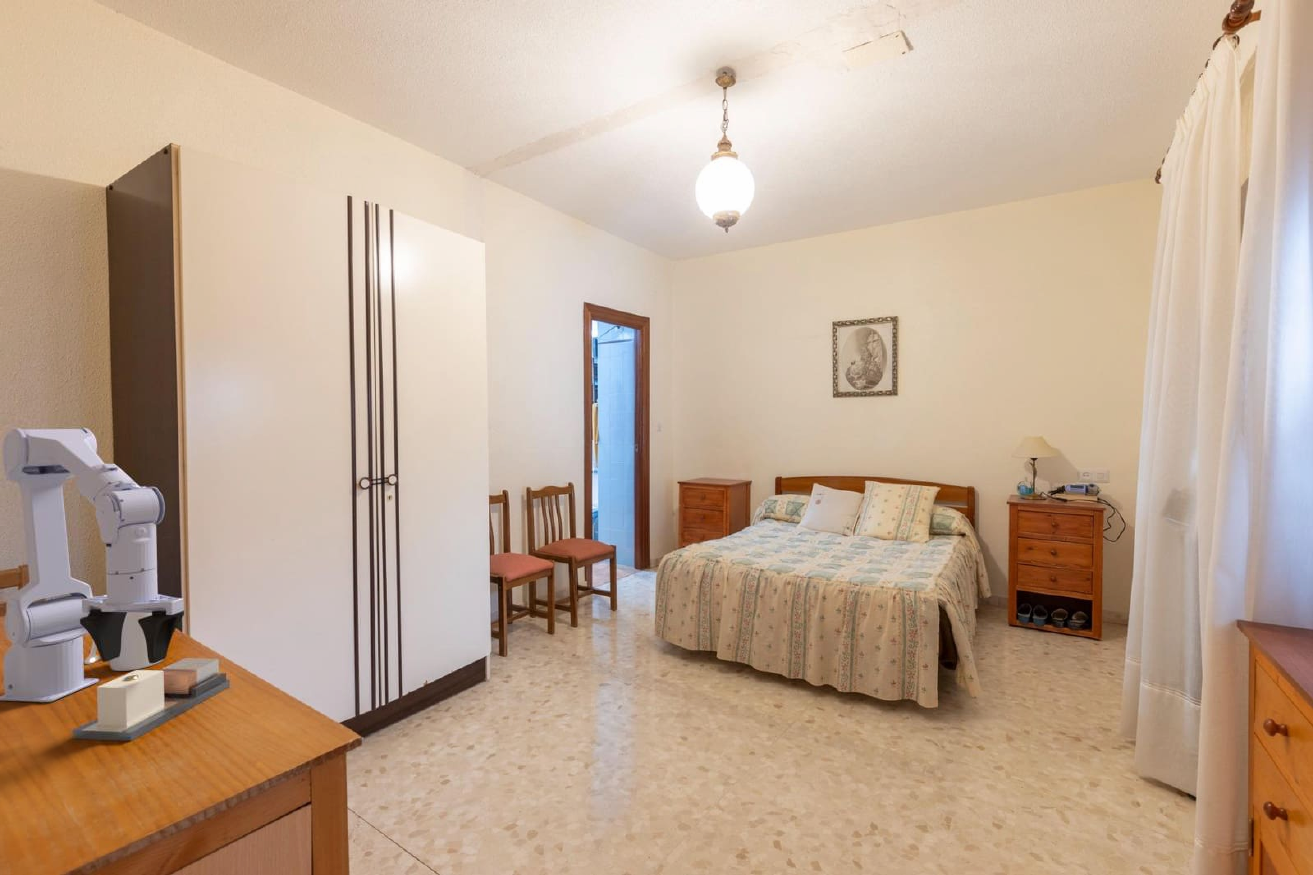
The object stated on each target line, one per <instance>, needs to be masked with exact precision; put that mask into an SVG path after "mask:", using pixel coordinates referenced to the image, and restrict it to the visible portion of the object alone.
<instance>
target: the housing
mask: <svg viewBox="0 0 1313 875" xmlns="http://www.w3.org/2000/svg"><path fill="white" fill-rule="evenodd" d="M96 698H97V700H96V701H97V702H96V705H97V718H98V725H116V726H128V725H130V724H131V723H133V722H135V721H137V720H139V719H141V718H143V717H145V716H147V715H149V714H150V713H152V712H154V711H156V710H158V709H160V708H162V707H164V671H161V670H147V669H136V670H132V671H131V672H128V673H126V674H124V675H121V676H119V677H117V678H115V679H112V680H111V681H108V682H106V683H103V684H101V685H99V686H97V687H96Z"/></svg>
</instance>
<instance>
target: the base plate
mask: <svg viewBox="0 0 1313 875" xmlns="http://www.w3.org/2000/svg"><path fill="white" fill-rule="evenodd" d="M230 684H231V680H230V679H227V672H221V673H219V675H217V676H215V677H213V678H211V679H209V680H207V681H205V682H203V683H201V684H200V685H198V686H196V687H194V688H192V689H191V693H189V694H176V693H164V707H162V708H160V709H158V710H156V711H154V712H152V713H150V714H149V715H147V716H145V717H143V718H141V719H139V720H137V721H135V722H133V723H131V724H130V725H128V726H116V725H98V717H97V718H95V719H93V720H91V721H89V722H87V723H85V724H83V725H80V726H78V727H76V728H74V729H72V739H76V740H97V741H100V740H101V741H116V742H117V741H118V742H119V741H120V742H121V741H122V742H132V741H134V740H136V739H138V738H139V737H142V736H143V735H145V734H147V733H148V732H150V731H152V730H154V729H156V728H157V727H159V726H161V725H163V724H165V723H166V722H169V721H170V720H172V719H173V718H174V719H175V718H176V717H178V716H179V715H181V714H183V713H184V711H185V712H186V710H187V711H188V710H190V709H192V708H194V707H196V706H197V705H200V704H201V703H202V701H203V702H204V700H205V701H206V700H209V699H210V698H212V697H214V696H215V695H217V694H219V693H221V692H223V691H225V690H226V689H228V688H230V686H231V685H230ZM220 691H221V692H220ZM195 705H196V706H195ZM178 714H179V715H178ZM177 715H178V716H177ZM175 716H176V717H175Z"/></svg>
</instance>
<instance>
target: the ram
mask: <svg viewBox="0 0 1313 875" xmlns="http://www.w3.org/2000/svg"><path fill="white" fill-rule="evenodd" d="M219 660H220V659H219V658H199V657H197V658H196V657H195V658H194V657H185V658H182V659H180V660H178V661H176V662H174V663H172V664H170V665H167V666H165V667H163V668H162V669H161V670H160V671H164V693H176V694H189V693H191V689H192V688H194V687H196V686H198V685H200V684H201V683H203V682H205V681H207V680H209V679H211V678H213V677H215V676H217V675H219V674H220V669H219V668H220V666H219V664H220V663H219V662H220V661H219Z"/></svg>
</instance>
